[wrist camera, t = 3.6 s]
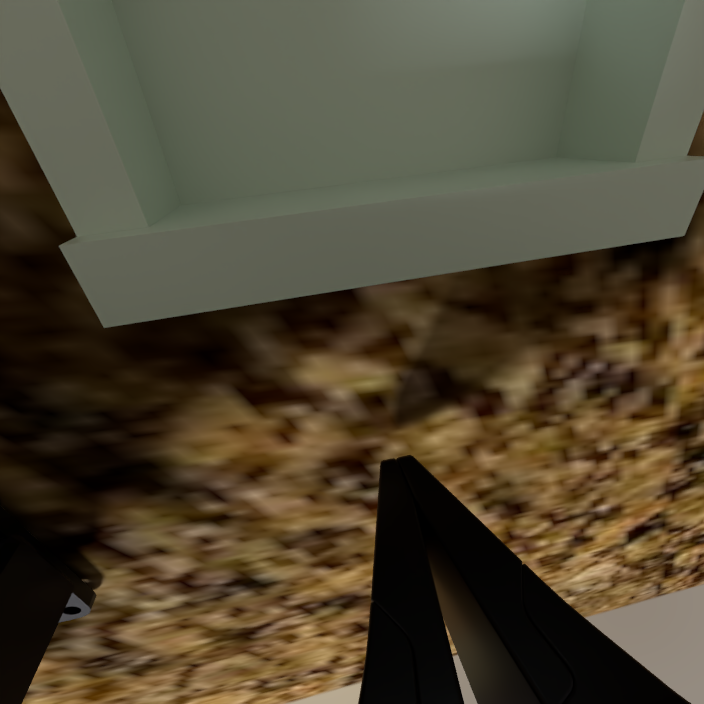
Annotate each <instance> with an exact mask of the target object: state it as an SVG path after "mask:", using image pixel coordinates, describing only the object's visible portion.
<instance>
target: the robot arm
mask: <svg viewBox="0 0 704 704" xmlns="http://www.w3.org/2000/svg"><path fill="white" fill-rule="evenodd" d="M95 598H96V594H95V592H94V591H93V590H92V589H91V588H90V587H88V586H87V585H86V584H85V583H84V582H83V581H82V580H81V579H80V578H79V577H78V576H76V575H75V574H74V573H73V572H72V571H71V570H70V569H69V568H68V567H67V566H66V565H65V564H63V563H62V562H61V561H60V560H59V559H58V558H57V557H56V556H55V555H54V554H53V553H51V552H50V551H49V550H48V549H47V548H46V547H45V546H44V545H43V544H42V543H41V542H40V541H38V540H37V539H36V538H35V537H34V536H33V535H32V534H31V533H30V532H29V531H28V530H26V529H25V528H24V527H23V526H22V525H21V524H20V523H19V522H18V521H17V520H16V519H14V518H13V517H12V516H11V515H10V514H9V513H8V512H7V511H6V510H5V509H4V508H3V507H1V506H0V704H22V702H23V699H24V697H25V695H26V693H27V691H28V688H29V686H30V684H31V682H32V680H33V677H34V675H35V673H36V671H37V669H38V667H39V664H40V662H41V660H42V658H43V656H44V653H45V651H46V649H47V647H48V645H49V642H50V640H51V638H52V636H53V634H54V632H55V629H56V627H57V625H58V623H59V622H63V621H67V620H72V619H76V618H80V617H83V616H86V615H87V614H89V613H90V610H91V608H92V606H93V603H94V601H95ZM371 602H372V603H371V605H370V619H369V631H368V641H367V651H366V659H365V665H364V672H363V678H362V685H361V691H360V697H359V702H358V704H464V701H463V697H462V693H461V689H460V685H459V681H458V677H457V673H456V668H455V664H454V660H453V656H452V652H451V648H450V644H449V640H448V636H447V632H446V628H445V624H444V620H445V623H446V625H447V628H448V630H449V633H450V635H451V638H452V640H453V643H454V645H455V648H456V650H457V653H458V656H459V658H460V661H461V663H462V666H463V668H464V671H465V673H466V676H467V678H468V680H469V683H470V685H471V688H472V691H473V693H474V695H475V698H476V701H477V703H478V704H691V703H690V702H688V701H687V700H685V699H684V698H683V697H681V696H680V695H678V694H677V693H676V692H675V691H673V690H672V689H671V688H669V687H668V686H667V685H666V684H664V683H663V682H662V681H661V680H660V679H658V678H657V677H656V676H655V675H654V674H652V673H651V672H650V671H649V670H647V669H646V668H645V667H644V666H642V665H641V664H640V663H639V662H638V661H636V660H635V659H634V658H633V657H632V656H630V655H629V654H628V653H627V652H625V651H624V650H623V649H622V648H621V647H619V646H618V645H617V644H615V643H614V642H613V641H612V640H611V639H609V638H608V637H607V636H606V635H604V634H603V633H602V632H601V631H600V630H598V629H597V628H596V627H595V626H594V625H592V624H591V623H590V622H589V621H588V620H586V619H585V618H584V617H583V616H582V615H581V614H579V613H578V612H577V611H576V610H575V609H573V608H572V607H571V606H570V605H569V604H568V603H566V602H565V601H564V600H563V599H562V598H561V597H560V596H559V595H557V594H556V593H555V592H554V591H553V590H552V589H551V588H550V587H549V586H548V585H547V584H546V583H544V582H543V581H542V580H541V579H540V578H539V577H538V576H537V575H536V574H535V573H534V572H533V571H532V570H531V569H530V568H529V567H528V566H527V565H526V564H523V565H522V561H521V560H520V559H519V558H518V557H517V556H516V555H515V554H514V553H513V552H512V551H511V550H510V549H509V548H508V547H507V546H506V545H505V544H504V543H503V542H502V541H501V540H500V539H498V538H497V537H496V536H495V535H494V534H493V533H492V532H491V531H490V530H489V529H488V528H487V527H486V526H485V525H484V524H483V523H482V522H481V521H480V520H479V519H478V518H477V517H476V516H475V515H474V514H473V513H472V512H470V511H469V510H468V509H467V508H466V507H465V506H464V505H463V504H462V503H461V502H460V501H459V500H458V499H457V498H456V497H455V496H454V495H453V494H452V493H451V492H450V491H449V490H448V489H447V488H446V487H445V486H443V485H442V484H441V483H440V482H439V481H438V480H437V479H436V478H435V477H434V476H433V475H432V474H431V473H430V472H429V471H428V470H427V469H426V468H425V467H424V466H423V465H422V464H421V463H420V462H419V461H418V460H416V459H415V458H414V457H413V456H411V455H407V456H402V457H398V458H397V460H396V459H394V458H393V459H388V460H383V461H381V465H380V478H379V493H378V507H377V521H376V536H375V550H374V564H373V579H372V593H371ZM442 615H443V616H442ZM443 618H444V620H443Z"/></svg>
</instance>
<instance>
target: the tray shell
mask: <svg viewBox="0 0 704 704" xmlns="http://www.w3.org/2000/svg"><path fill="white" fill-rule="evenodd" d="M0 89H1V91H2V93H3V95H4V97H5V98H6V100H7V102H8V104H9V106H10V108H11V110H12V112H13V114H14V116H15V118H16V120H17V122H18V124H19V126H20V127H21V129H22V131H23V133H24V135H25V137H26V139H27V141H28V143H29V145H30V147H31V149H32V151H33V153H34V155H35V156H36V158H37V160H38V162H39V164H40V166H41V168H42V170H43V172H44V174H45V176H46V178H47V180H48V182H49V183H50V185H51V187H52V189H53V191H54V193H55V195H56V197H57V199H58V201H59V203H60V205H61V207H62V209H63V211H64V212H65V214H66V216H67V218H68V220H69V222H70V224H71V226H72V228H73V230H74V232H75V234H76V236H77V237H76V238H73V239H71V240H69V241H67V242H65V243H63V244H61V245H59V248H60V249H61V251H62V253H63V255H64V257H65V258H66V260H67V262H68V264H69V266H70V267H71V269H72V271H73V273H74V275H75V276H76V278H77V280H78V282H79V284H80V285H81V287H82V289H83V291H84V293H85V295H86V296H87V298H88V300H89V302H90V304H91V305H92V307H93V309H94V311H95V313H96V314H97V316H98V318H99V320H100V322H101V323H102V325H103V327H104V328H107V327H113V326H120V325H126V324H132V323H139V322H145V321H151V320H157V319H164V318H170V317H176V316H183V315H189V314H195V313H202V312H208V311H214V310H220V309H227V308H233V307H239V306H246V305H252V304H258V303H265V302H271V301H277V300H283V299H290V298H296V297H302V296H309V295H315V294H321V293H327V292H334V291H340V290H346V289H353V288H359V287H365V286H372V285H378V284H384V283H390V282H397V281H403V280H409V279H416V278H422V277H428V276H435V275H441V274H447V273H453V272H460V271H466V270H472V269H479V268H485V267H491V266H498V265H504V264H510V263H516V262H523V261H529V260H535V259H542V258H548V257H554V256H561V255H567V254H573V253H579V252H586V251H592V250H598V249H605V248H611V247H617V246H623V245H630V244H636V243H642V242H649V241H655V240H661V239H668V238H674V237H680V236H685V233H686V231H687V228H688V226H689V224H690V221H691V219H692V216H693V214H694V212H695V209H696V207H697V205H698V202H699V200H700V197H701V195H702V193H703V190H704V156H687V154H688V151H689V149H690V146H691V143H692V141H693V138H694V135H695V133H696V130H697V127H698V125H699V122H700V119H701V117H702V114H703V111H704V0H0Z"/></svg>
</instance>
